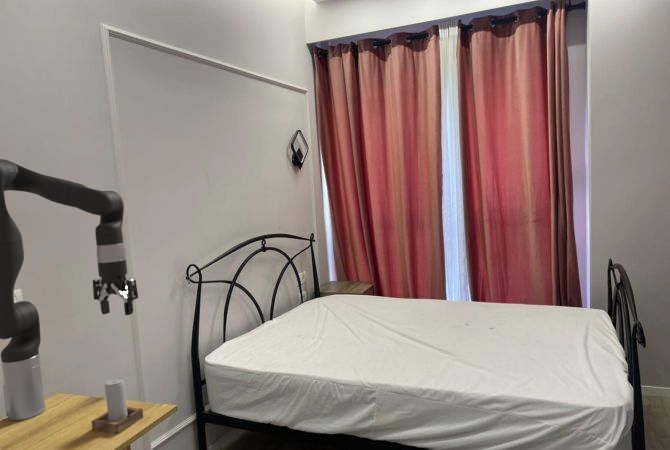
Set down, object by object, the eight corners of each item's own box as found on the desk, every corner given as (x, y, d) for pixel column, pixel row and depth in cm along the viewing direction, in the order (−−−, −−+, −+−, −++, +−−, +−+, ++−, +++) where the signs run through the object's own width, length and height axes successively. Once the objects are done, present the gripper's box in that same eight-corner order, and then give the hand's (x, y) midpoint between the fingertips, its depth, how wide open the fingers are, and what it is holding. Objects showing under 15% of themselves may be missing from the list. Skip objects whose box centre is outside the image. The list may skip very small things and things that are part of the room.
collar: (92, 430, 125) (91, 420, 125) (118, 414, 134) (117, 405, 133) (119, 433, 122) (118, 424, 122) (143, 417, 130) (142, 408, 130)
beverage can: (120, 428, 125) (116, 385, 124) (105, 427, 126) (100, 384, 125) (132, 419, 130) (127, 377, 129) (116, 418, 131) (112, 377, 130)
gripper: (82, 261, 134) (88, 317, 135) (121, 261, 129) (127, 318, 130) (103, 257, 141) (108, 310, 142) (140, 257, 136) (146, 311, 137)
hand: (117, 314), depth 136 cm, fingers open, 8 cm apart
